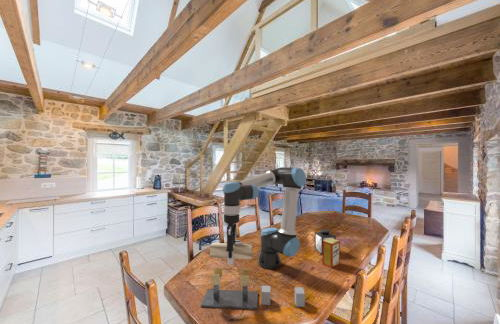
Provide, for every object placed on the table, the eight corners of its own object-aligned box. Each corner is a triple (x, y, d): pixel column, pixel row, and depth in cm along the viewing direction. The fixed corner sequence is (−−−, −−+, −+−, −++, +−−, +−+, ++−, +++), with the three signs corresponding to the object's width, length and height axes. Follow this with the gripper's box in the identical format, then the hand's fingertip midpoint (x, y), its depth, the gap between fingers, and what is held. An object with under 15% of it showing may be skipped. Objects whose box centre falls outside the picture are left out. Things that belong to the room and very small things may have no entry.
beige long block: (211, 254, 104) (212, 242, 104) (251, 255, 102) (252, 244, 103) (209, 257, 100) (210, 246, 100) (251, 259, 98) (251, 247, 99)
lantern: (322, 255, 152) (322, 216, 153) (314, 249, 163) (314, 213, 164) (335, 254, 154) (336, 216, 155) (327, 248, 165) (327, 212, 166)
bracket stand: (207, 291, 108) (207, 264, 108) (257, 293, 106) (258, 266, 106) (200, 306, 96) (201, 277, 96) (257, 309, 94) (257, 279, 94)
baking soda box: (331, 268, 133) (331, 243, 133) (322, 264, 138) (322, 240, 138) (339, 264, 138) (339, 240, 138) (330, 260, 143) (331, 237, 144)
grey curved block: (237, 248, 164) (240, 237, 162) (241, 251, 161) (244, 240, 159) (219, 253, 153) (222, 242, 151) (223, 258, 150) (226, 246, 147)
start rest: (261, 297, 102) (261, 285, 102) (302, 299, 101) (302, 287, 101) (261, 304, 97) (261, 291, 97) (304, 306, 96) (304, 293, 96)
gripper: (227, 209, 110) (226, 254, 110) (220, 217, 93) (219, 270, 93) (241, 210, 110) (240, 254, 109) (237, 218, 93) (236, 271, 92)
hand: (231, 261), depth 101 cm, fingers closed on beige long block, 4 cm apart
